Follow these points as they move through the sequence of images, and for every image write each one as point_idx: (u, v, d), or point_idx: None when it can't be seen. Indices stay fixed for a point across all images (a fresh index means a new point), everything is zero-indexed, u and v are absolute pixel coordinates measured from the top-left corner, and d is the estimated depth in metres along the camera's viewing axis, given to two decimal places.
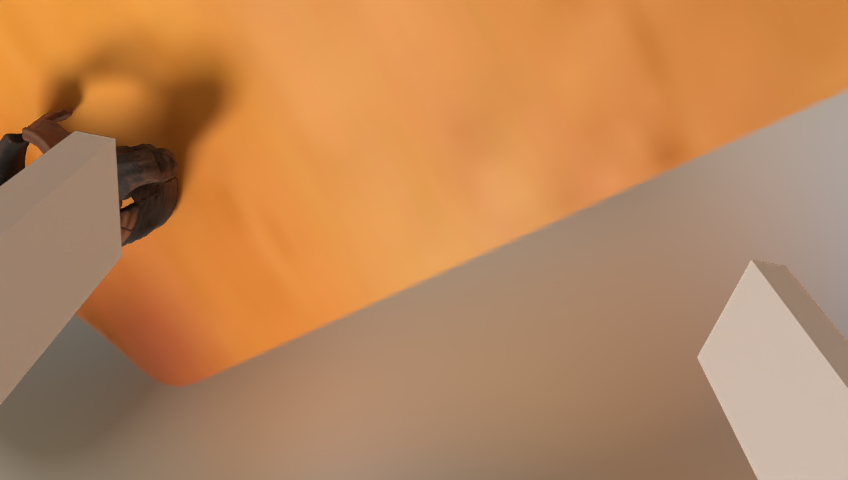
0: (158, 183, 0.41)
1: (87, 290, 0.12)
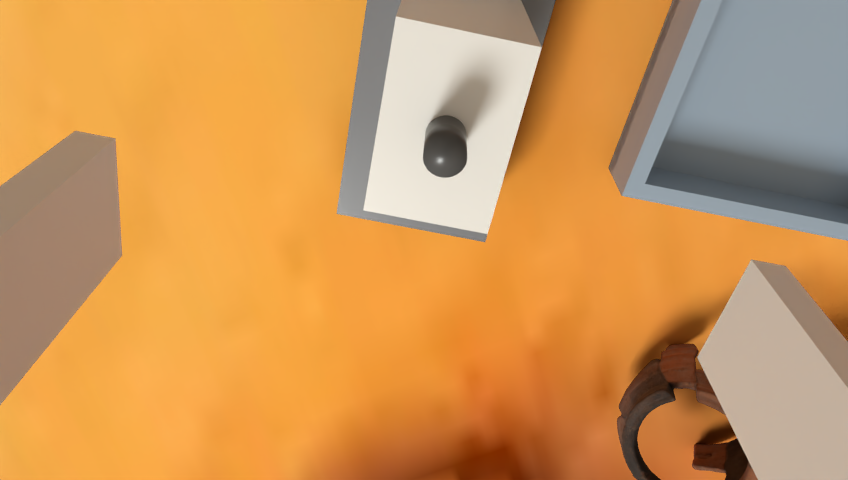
0: None
1: (87, 290, 0.12)
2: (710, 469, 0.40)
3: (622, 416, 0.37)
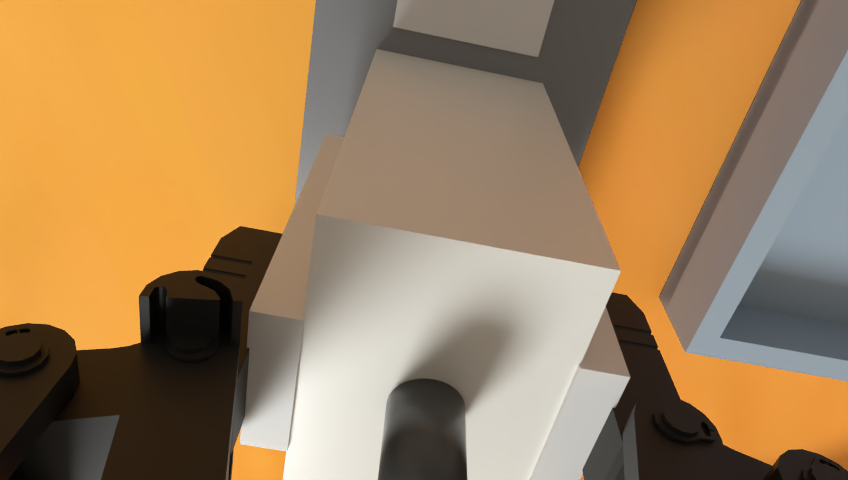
0: None
1: None
2: None
3: None
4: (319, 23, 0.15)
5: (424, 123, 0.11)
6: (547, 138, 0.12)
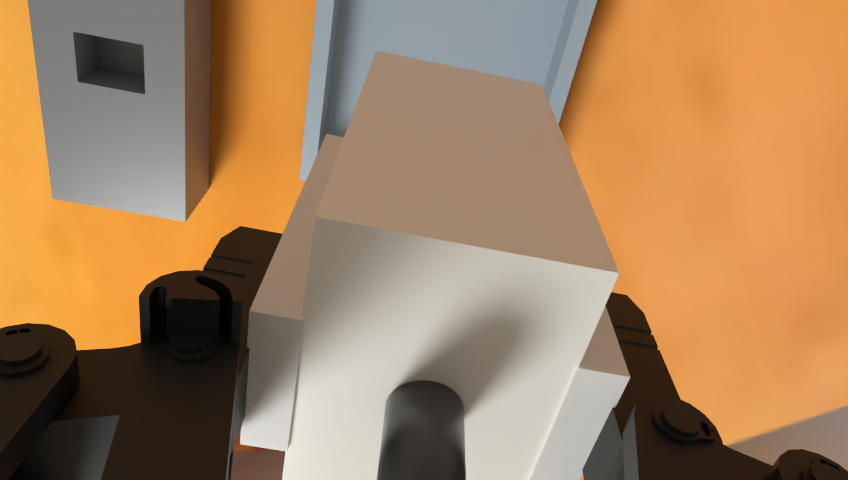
0: None
1: None
2: None
3: None
4: None
5: (423, 124, 0.11)
6: (546, 140, 0.12)
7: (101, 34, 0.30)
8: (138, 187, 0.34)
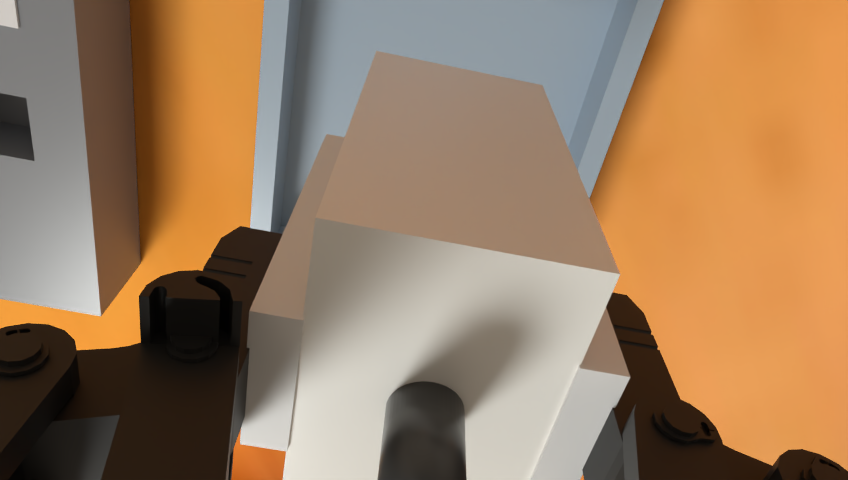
0: None
1: None
2: None
3: None
4: None
5: (424, 125, 0.11)
6: (546, 140, 0.12)
7: None
8: (36, 275, 0.26)
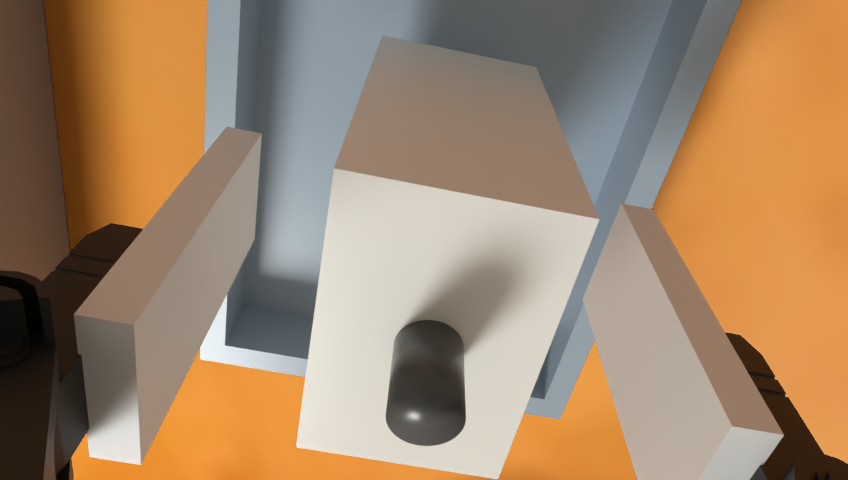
0: None
1: (236, 269, 0.14)
2: None
3: None
4: None
5: (427, 98, 0.13)
6: (538, 113, 0.13)
7: None
8: None
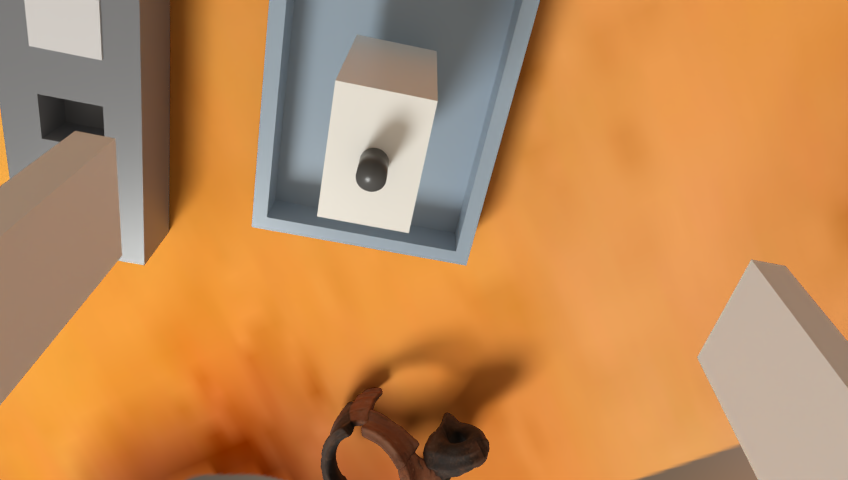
0: None
1: (87, 290, 0.12)
2: None
3: None
4: None
5: (376, 61, 0.28)
6: (428, 69, 0.29)
7: (63, 96, 0.32)
8: None
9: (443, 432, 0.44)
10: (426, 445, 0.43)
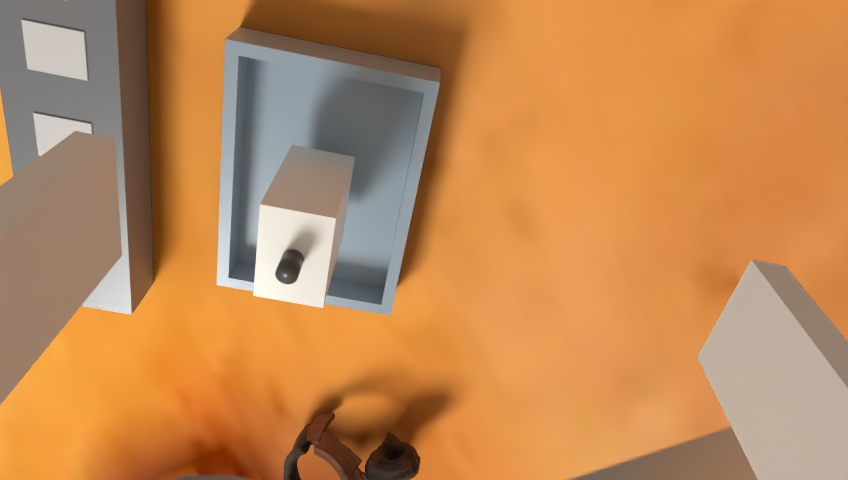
0: None
1: (87, 290, 0.12)
2: None
3: None
4: (12, 153, 0.40)
5: (299, 176, 0.37)
6: (340, 180, 0.37)
7: None
8: (95, 291, 0.45)
9: (383, 450, 0.54)
10: (367, 461, 0.52)
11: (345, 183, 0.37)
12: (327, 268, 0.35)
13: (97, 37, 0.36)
